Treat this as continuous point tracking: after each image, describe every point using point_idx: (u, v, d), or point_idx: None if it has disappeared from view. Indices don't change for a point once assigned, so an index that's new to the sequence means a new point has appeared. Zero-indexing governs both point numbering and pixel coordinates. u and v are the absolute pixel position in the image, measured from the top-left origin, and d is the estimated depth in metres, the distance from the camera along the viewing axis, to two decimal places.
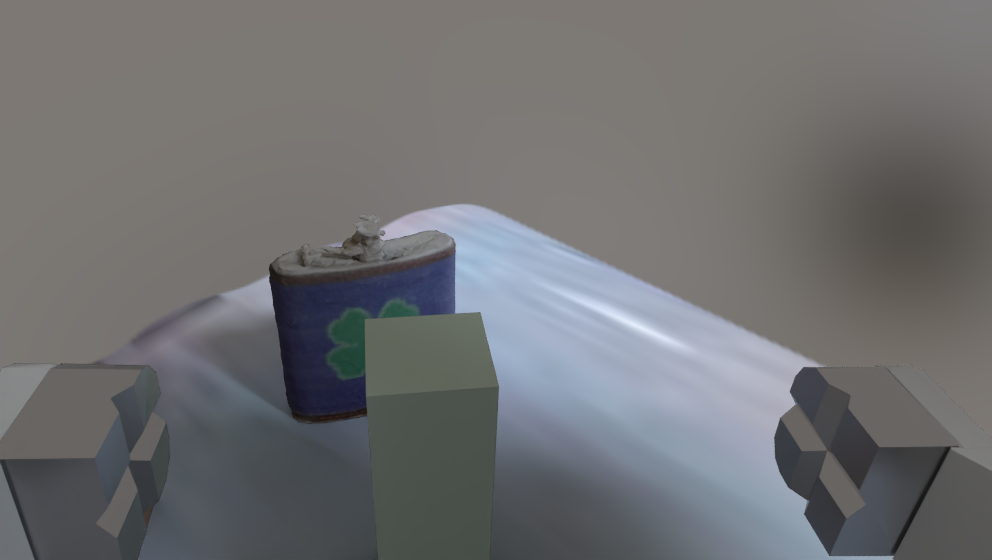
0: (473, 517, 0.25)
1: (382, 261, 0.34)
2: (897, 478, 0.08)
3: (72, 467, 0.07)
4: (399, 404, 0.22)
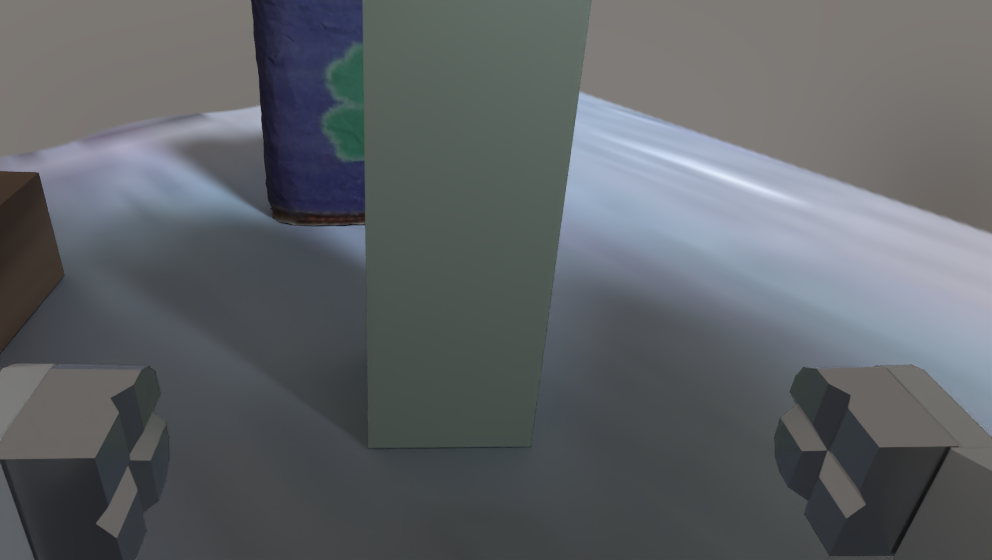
0: (529, 224, 0.15)
1: None
2: (897, 478, 0.08)
3: (72, 468, 0.07)
4: None
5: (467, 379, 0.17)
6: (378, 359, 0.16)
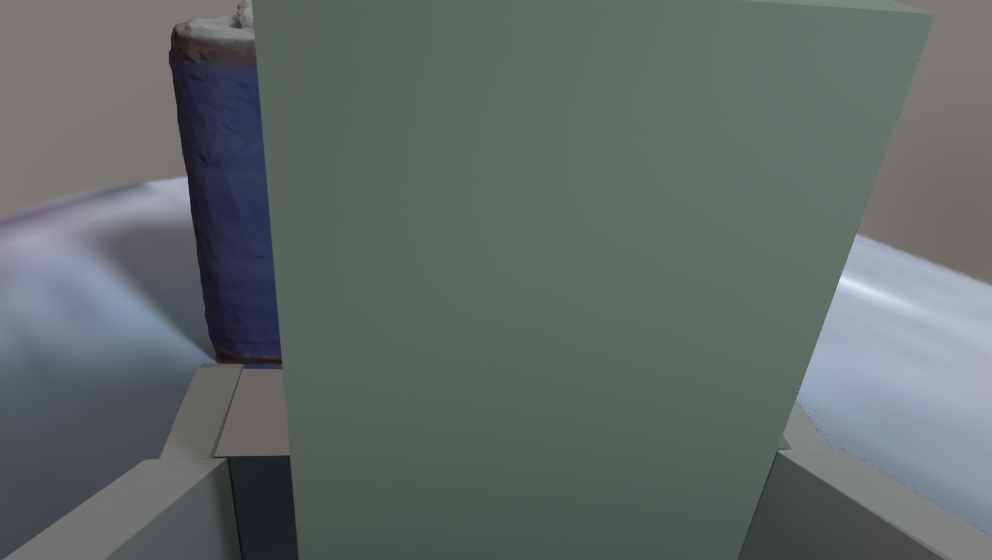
0: None
1: None
2: None
3: (290, 465, 0.07)
4: (431, 52, 0.04)
5: None
6: None
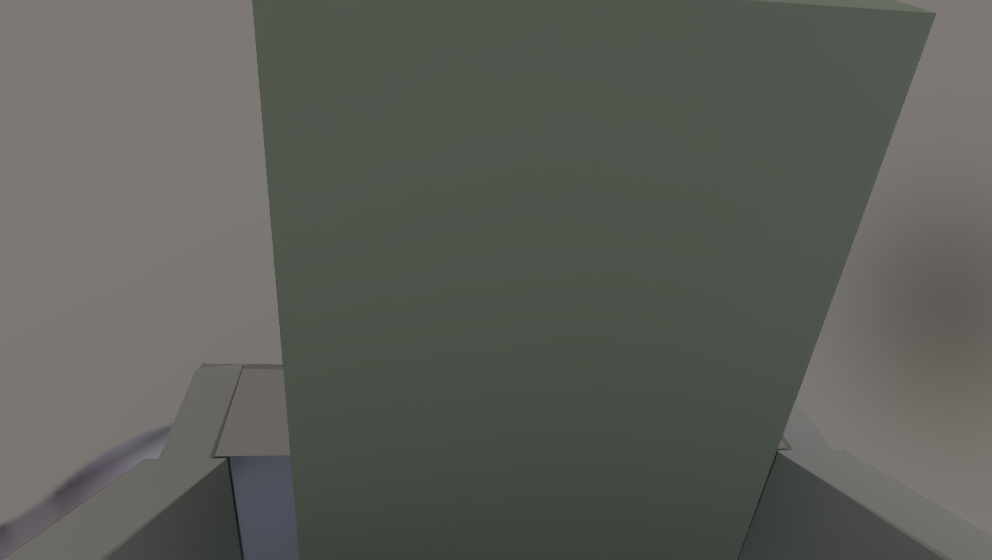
0: None
1: None
2: None
3: None
4: (431, 53, 0.04)
5: None
6: None
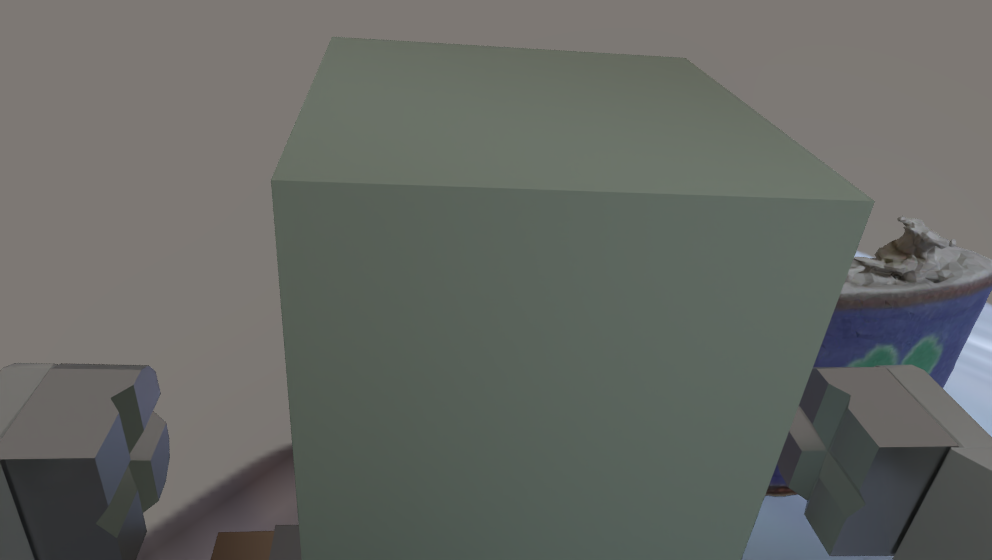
0: None
1: (933, 282, 0.25)
2: (897, 478, 0.08)
3: (72, 467, 0.07)
4: (429, 241, 0.05)
5: None
6: None
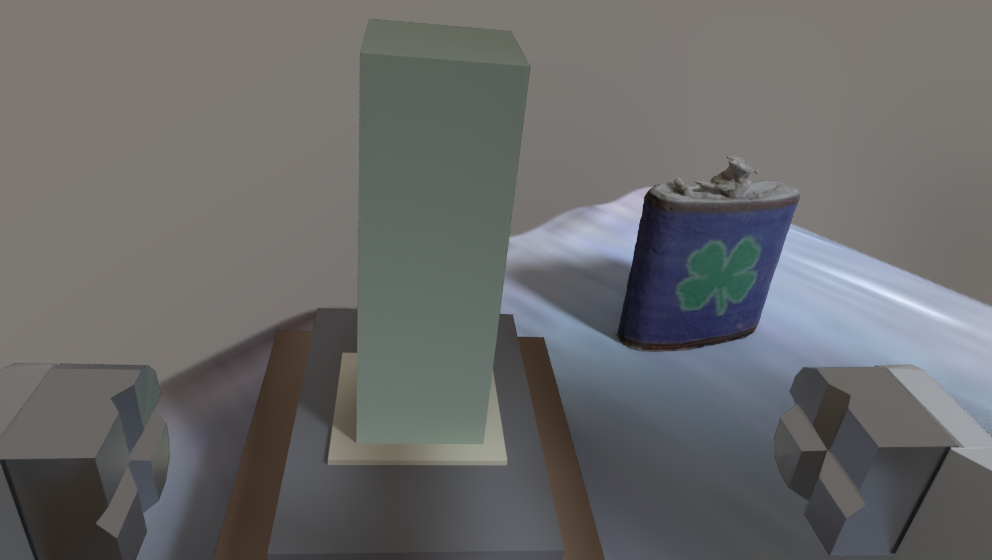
0: (480, 278, 0.20)
1: (747, 199, 0.37)
2: (897, 478, 0.08)
3: (72, 468, 0.07)
4: (402, 73, 0.17)
5: (433, 392, 0.22)
6: (366, 375, 0.21)
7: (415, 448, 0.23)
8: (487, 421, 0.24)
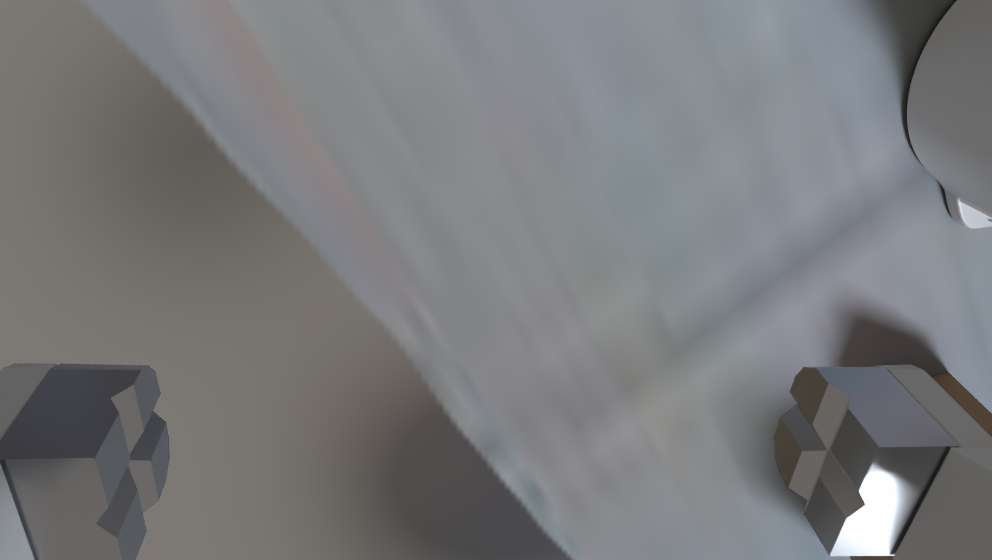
0: None
1: None
2: (897, 478, 0.08)
3: (72, 468, 0.07)
4: None
5: None
6: None
7: None
8: None
